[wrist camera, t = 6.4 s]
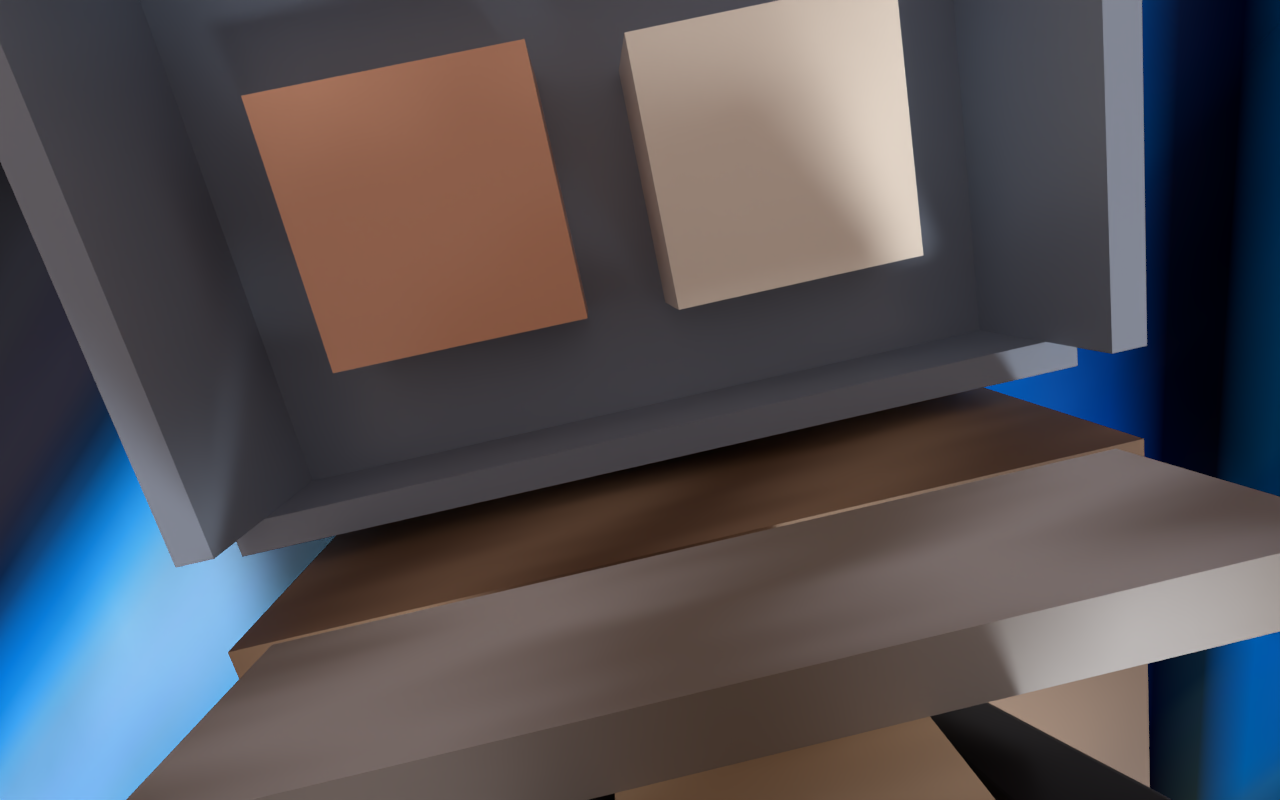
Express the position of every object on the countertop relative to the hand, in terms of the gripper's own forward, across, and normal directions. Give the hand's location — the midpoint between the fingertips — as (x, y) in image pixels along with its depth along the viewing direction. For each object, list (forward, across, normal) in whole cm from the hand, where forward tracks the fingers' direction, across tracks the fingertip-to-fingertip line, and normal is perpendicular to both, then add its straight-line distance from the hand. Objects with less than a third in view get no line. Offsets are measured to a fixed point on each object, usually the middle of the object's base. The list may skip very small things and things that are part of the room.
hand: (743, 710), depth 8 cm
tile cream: (+4, -3, -7) cm, 9 cm away
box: (+7, 0, -7) cm, 10 cm away
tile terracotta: (+4, +3, -7) cm, 9 cm away
